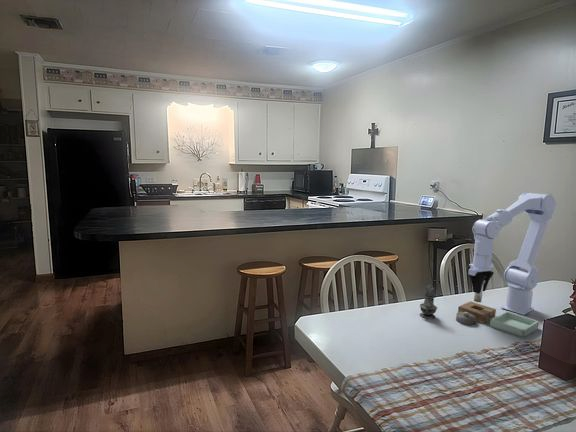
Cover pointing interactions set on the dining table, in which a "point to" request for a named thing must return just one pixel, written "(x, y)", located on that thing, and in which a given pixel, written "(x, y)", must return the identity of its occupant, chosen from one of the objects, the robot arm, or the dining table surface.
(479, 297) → the lock pin
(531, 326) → the tray
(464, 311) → the block
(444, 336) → the dining table surface
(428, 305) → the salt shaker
